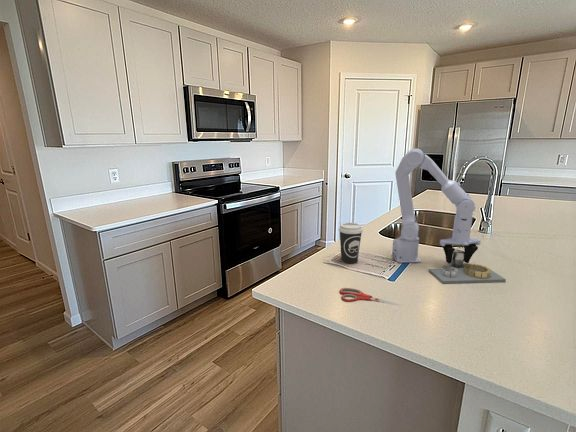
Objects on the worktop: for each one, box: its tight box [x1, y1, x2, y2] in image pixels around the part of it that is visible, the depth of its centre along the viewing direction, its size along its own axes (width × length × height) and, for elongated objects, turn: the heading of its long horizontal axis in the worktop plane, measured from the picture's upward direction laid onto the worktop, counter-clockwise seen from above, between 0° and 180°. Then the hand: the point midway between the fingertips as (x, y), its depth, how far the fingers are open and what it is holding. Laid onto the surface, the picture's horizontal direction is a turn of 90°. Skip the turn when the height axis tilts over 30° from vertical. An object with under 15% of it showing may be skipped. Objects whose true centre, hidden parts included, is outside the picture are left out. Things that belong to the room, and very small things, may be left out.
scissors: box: [339, 287, 404, 307], centre depth 97 cm, size 8×21×2 cm, turn 77°
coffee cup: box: [338, 222, 364, 265], centre depth 124 cm, size 10×10×15 cm
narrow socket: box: [441, 265, 458, 278], centre depth 110 cm, size 5×5×2 cm
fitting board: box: [428, 267, 507, 285], centre depth 111 cm, size 22×10×1 cm, turn 92°
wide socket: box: [463, 263, 492, 279], centre depth 110 cm, size 8×8×2 cm
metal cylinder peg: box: [450, 249, 465, 268], centre depth 119 cm, size 4×4×6 cm
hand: (457, 262), depth 119 cm, fingers open, 6 cm apart
